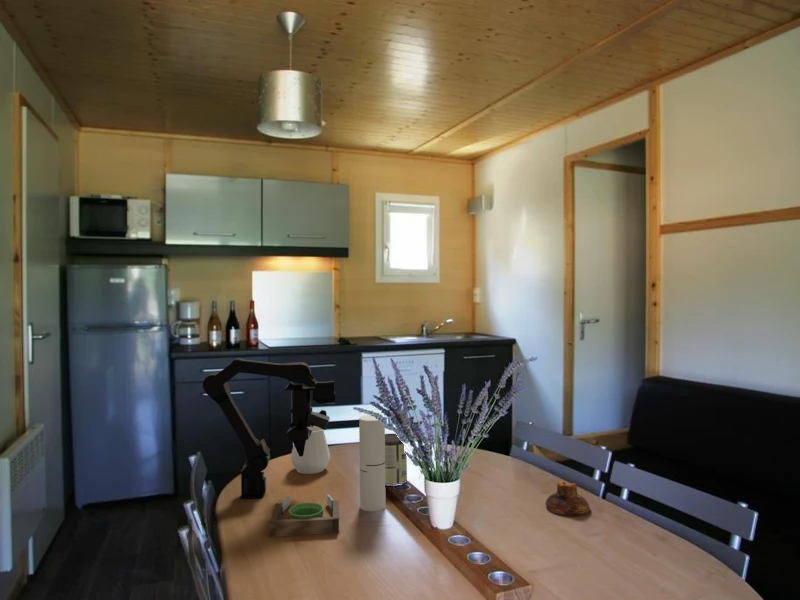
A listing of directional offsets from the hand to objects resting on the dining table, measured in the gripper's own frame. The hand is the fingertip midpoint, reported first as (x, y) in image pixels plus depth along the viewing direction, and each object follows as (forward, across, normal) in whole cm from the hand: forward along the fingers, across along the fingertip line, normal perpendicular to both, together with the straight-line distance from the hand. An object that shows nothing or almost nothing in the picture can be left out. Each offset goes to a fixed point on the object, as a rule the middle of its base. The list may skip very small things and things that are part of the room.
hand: (301, 456), depth 168 cm
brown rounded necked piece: (+11, -19, -75) cm, 78 cm away
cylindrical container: (+11, -13, -22) cm, 28 cm away
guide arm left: (+11, -14, +3) cm, 18 cm away
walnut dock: (+11, -23, -4) cm, 26 cm away
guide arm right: (+11, -13, -10) cm, 20 cm away
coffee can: (+11, +7, -27) cm, 30 cm away
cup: (+11, +22, -1) cm, 24 cm away
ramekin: (+11, -24, -4) cm, 27 cm away
